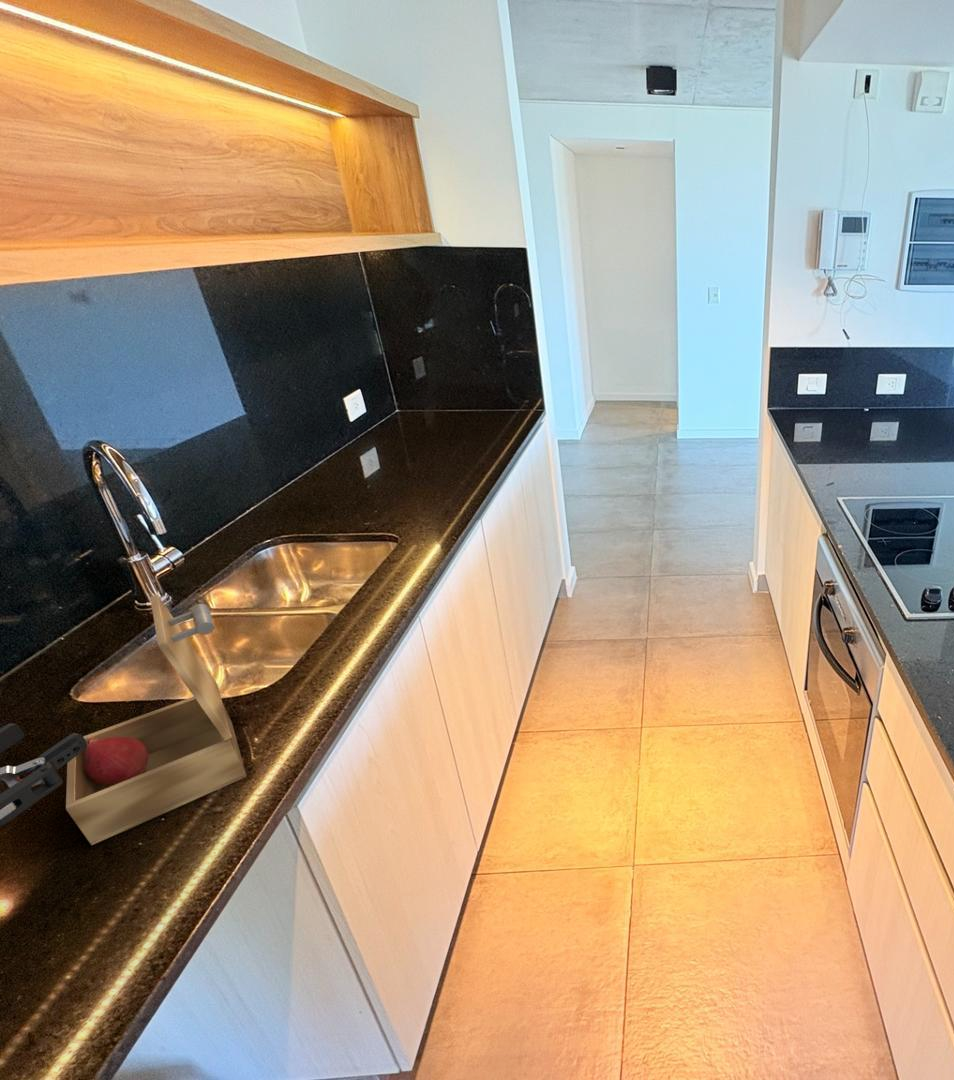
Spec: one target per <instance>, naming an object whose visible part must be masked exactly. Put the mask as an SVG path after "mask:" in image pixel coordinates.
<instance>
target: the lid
mask: <svg viewBox="0 0 954 1080" xmlns="http://www.w3.org/2000/svg"><path fill="white" fill-rule="evenodd" d="M149 598H150V604H151V612H152V617H153V623H154V629H155V630H154V631H155V636H156V643H157V646H158V648H159V650H160V651H161V652H162V654H163V655H164V656H165V658H166V659H167V661H168V662H169V663H170V665H171V667H172V668H173V669H174V670H175V672H176V673H177V675H178V677H179V678H180V679H181V680H182V682H183V683H184V685H185V687H187V689H188V690H189V692H190V694H191V695H192V697H195V699H196V700H197V702H198V703H199V705H200V706H201V707H202V709H203V710H204V712H205V713H206V715H207V716H208V717H209V719H210V720H211V722H212V723H213V725H214V726H215V727H216V729H217V730H218V732H219V733H220V734H221V736H222V737H223V739H224V740H227V739H230V738H232V736H231V732H230V728H229V725H228V721H227V717H226V714H225V710H224V707H225V705H224V703H223V700H222V695H221V692H220V689H219V684H218V683H217V681H216V680H215V678H214V677H213V676H212V673H211V672H210V671H209V669H208V668H207V666H206V665H205V663H204V662H203V659H201V657H200V656H199V654H198V653H197V651H196V649H195V648H194V647H193V645H192V644H191V642H190V641H189V639H188V638H189V637H193V636H195V635H197V634H198V635H202V636H206V635H210V634H212V633H213V632H214V630H215V627H216V626H215V623H214V620H213V617H212V614H211V610H210V607H209V605H207V604H204V603H198V604H195V605H193V606H192V607H191V610H190V611H188V612H185V613H183V614H180V615H177V616H174V617H173V615H172V613H171V612H170V611H169V609H168V607H167V606H166V604H165V603H164V601H163V600H162V598H161V597H160V596H159V594H158V593H157V594H153V595H151V596H150V597H149ZM192 619H193V624H194V626H193V627H191V628H188V629H185V630H182V629H181V627H180V626H179V624H181V623H184V622H186V621H189V620H192ZM223 705H224V706H223Z"/></svg>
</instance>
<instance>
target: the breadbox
mask: <svg viewBox="0 0 954 1080" xmlns="http://www.w3.org/2000/svg"><path fill="white" fill-rule="evenodd" d="M223 706H224V710H225V714H226V717H227V721H228V725H229V728H230V732H231V736H232V738H230V739H227V740H224V739H223V737H222V736H221V734H220V733H219V732H218V730H217V729H216V727H215V726H214V725H213V723H212V722H211V720H210V719H209V717H208V716H207V715H206V713H205V712H204V710H203V709H202V707H201V706H200V705H199V703H198V702H197V700H196V699H195V697H194V696H191V697H187V698H186V699H183V700H180V701H177V702H175V703H171V704H168V705H166V706H164V707H161V708H158V709H155V710H153V711H150V712H148V713H145V714H141V715H139V716H136V717H133V718H130V719H127V720H125V721H122V722H120V723H117V724H114V725H112V726H108V727H106V728H103V729H100V730H97V731H94V732H92V733H89V734H87V735H86V734H85V735H82V736H83V737H84V739H85V740H86V742H87V740H88V739H89V738H90V737H92V736H95V737H96V738H98V739H105V738H110V737H130V738H134V739H136V740H139V741H140V742H142V743H143V744H144V745H145V746H146V748H147V751H148V761H147V767H146V772H145V773H143V774H140V775H138V776H136V777H133V778H131V779H128V780H126V781H123V782H121V783H118V784H116V785H101V784H98V783H96V782H94V781H92V780H91V779H90V778H89V777H88V775H87V774H86V772H85V769H84V756H85V752H86V749H85V750H84V751H83V752H82V753H80V754H79V755H77V756H76V757H75V758H73V759H72V760H71V761H69V762H68V763H66V764H67V765H66V789H65V790H66V793H65V794H66V795H65V810H66V812H67V813H68V814H69V816H70V817H71V819H72V820H73V821H74V823H75V825H76V826H77V827H78V828H79V830H80V831H81V833H82V834H83V836H84V837H85V838H86V840H87V841H88V843H89V844H90V845H91V846H93V845H96V844H98V843H100V842H102V841H105V840H107V839H109V838H111V837H114V836H116V835H118V834H120V833H123V832H125V831H127V830H130V829H132V828H134V827H136V826H139V825H141V824H143V823H145V822H147V821H150V820H152V819H154V818H156V817H159V816H161V815H163V814H166V813H168V812H170V811H173V810H175V809H177V808H179V807H181V806H183V805H186V804H188V803H190V802H192V801H195V800H197V799H199V798H201V797H204V796H206V795H208V794H211V793H213V792H215V791H218V790H220V789H223V788H224V787H227V786H229V785H231V784H233V783H235V782H238V781H240V780H243V779H244V778H247V773H246V772H247V771H246V769H245V765H244V762H243V758H242V754H241V751H240V747H239V744H238V740H237V737H236V733H235V729H234V726H233V722H232V720H231V718H230V716H229V714H228V711H227V709H226V707H225V705H224V704H223Z"/></svg>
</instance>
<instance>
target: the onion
mask: <svg viewBox="0 0 954 1080" xmlns="http://www.w3.org/2000/svg"><path fill="white" fill-rule="evenodd" d="M87 744H88V745H87V748H86V752H85V756H84V769H85V772H86V774H87V775H88V777H89V778H90V779H91V780H92V781H94V782H96V783H98V784H101V785H116V784H118V783H121V782H123V781H126V780H128V779H131V778H133V777H136V776H138V775H140V774H143V773H145V772H146V767H147V761H148V751H147V748H146V746H145V745H144V744H143V743H142V742H140V741H139V740H136V739H134V738H130V737H110V738H105V739H98V738H96V737H95V736H92V737H90V738H89V739H88V740H87Z"/></svg>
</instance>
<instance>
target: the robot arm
mask: <svg viewBox="0 0 954 1080" xmlns="http://www.w3.org/2000/svg"><path fill="white" fill-rule="evenodd" d="M25 736H26V735H25V732H24V731H23V730H22V728H21V727H20V726H19V724H16V723H7V724H6V725H4V726H2V727H1V728H0V754H2V753H3V752H5V751H6V750H8V749H10V748H11V747H12V746H14V745H16V744H17V743H19V742H20V741H21V740H23V739H24V738H25ZM83 736H84V735H83V734H81V733H77V732H72V733H70V734H68V735H67V736H66V737H64V738H63V739H62V740H60V741H58V742H57V743H56V744H54V745H53V746H51V747H50V748H48V749H46V751H44V752H42V753H41V754H39V755H38V756H37V758H35V759H31V760H29V761H26V762H25V763H24V762H23V763H21V764H18V765H15V766H12V765H5V766H1V767H0V827H3V826H5V825H6V824H8V823H9V822H10V821H13V819H15V818H16V817H17V816H19V815H21V814H22V813H23V812H24V811H26V810H27V809H29V808H31V807H32V806H33V805H34V804H36V803H38V802H39V801H40V800H42V799H43V798H45V797H46V796H47V795H49V794H50V793H52V792H53V791H55V790H56V789H58V788H59V787H60V786H62V784H63V783H64V780H63V779H62V777H61V776H60V774H59V773H58V770H59V769H61V768H62V767H64V766H65V765H66V764H67V763H68V762H69V761H71V760H72V759H73V758H75V757H76V756H77V755H79V754H80V753H82V752H83V751H84V750H85V749H86V748H87V745H88V744H87V742H86V740H85V739H84V737H83ZM30 772H31V773H30ZM27 773H30V774H28V775H26V776H25V777H24V778H21V777H20V776H22V775H25V774H27ZM2 781H3V782H4V783H5V784H6V785H7V787H8V788H6V789H5V790H4V791H3V788H4V783H3V782H2ZM41 784H42V785H41ZM38 785H40V786H39V787H38V788H36V789H34V790H32V789H31V788H34V787H36V786H38Z"/></svg>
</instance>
